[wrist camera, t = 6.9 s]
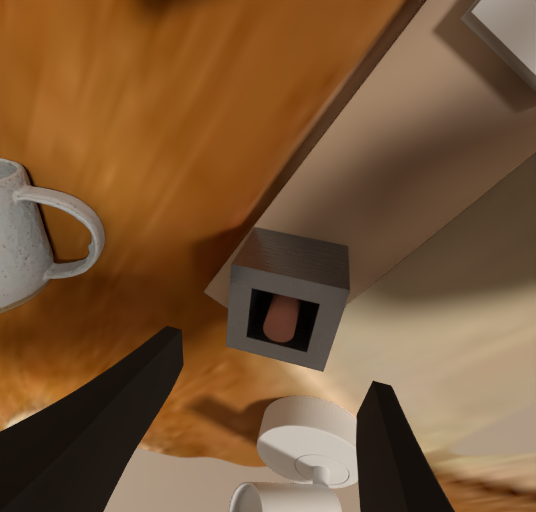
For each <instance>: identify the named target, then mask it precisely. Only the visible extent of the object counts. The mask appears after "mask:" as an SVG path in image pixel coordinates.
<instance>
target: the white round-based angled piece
mask: <svg viewBox="0 0 536 512" xmlns="http://www.w3.org/2000/svg"><path fill="white" fill-rule="evenodd" d="M356 423H357V419H356V418H355V417H354V416H353V415H352V414H351V413H350V412H348V411H347V410H346V409H344V408H342V407H341V406H339V405H337V404H335V403H333V402H330V401H327V400H324V399H321V398H317V397H311V396H289V397H284V398H281V399H278V400H276V401H274V402H272V403H271V404H270V405H269V406H268V407H267V408H266V410H265V412H264V416H263V420H262V424H261V428H260V432H259V436H258V440H257V451H258V454H259V456H260V458H261V459H262V461H263V462H264V463H265V464H266V465H267V466H268V467H269V468H270V469H272V470H273V471H274V472H276V473H277V474H279V475H281V476H283V477H284V478H286V479H289V480H291V481H293V482H296V483H263V482H244V483H242V484H240V485H239V486H238V487H237V488H236V490H235V491H234V493H233V496H232V498H231V501H230V506H229V512H342V511H341V506H340V502H339V500H338V498H337V496H336V495H335V493H334V492H333V491H332V490H331V489H330V488H341V487H345V486H349V485H351V484H354V483H355V482H357V481H358V470H357V456H356Z"/></svg>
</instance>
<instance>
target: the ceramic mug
mask: <svg viewBox="0 0 536 512" xmlns="http://www.w3.org/2000/svg"><path fill="white" fill-rule="evenodd" d="M37 203H42V204H46V205H50V206H53V207H56V208H59V209H62V210H64V211H66V212H68V213H69V214H71V215H73V216H74V217H75V218H76V219H77V220H79V221H81V222H82V223H83V224H84V225H85V226H86V227H87V228H88V229H89V230H90V231H91V235H92V241H91V243H90V244H89V246H88V248H89V254H88V257H87V258H85V259H83V260H78V261H76V262H70V263H60V264H56V263H54V259H53V253H52V250H51V247H50V244H49V241H48V238H47V235H46V233H45V230H44V226H43V222H42V219H41V215H40V212H39V209H38V206H37ZM104 245H105V234H104V229H103V226H102V223H101V220H100V219H99V217H98V216H97V214H96V213H95V212H94V211H93V210H92V209H91V208H90V207H89V206H88V205H86V204H85V203H84V202H82V201H81V200H79V199H77V198H75V197H74V196H72V195H69V194H66V193H63V192H59V191H55V190H51V189H46V188H40V187H33V186H31V184H30V181H29V178H28V175H27V173H26V170H25V169H24V167H23V166H22V165H21V164H19V163H17V162H14V161H10V160H6V159H1V158H0V313H3V312H6V311H9V310H11V309H13V308H16V307H18V306H20V305H22V304H24V303H26V302H27V301H29V300H31V299H32V298H34V297H35V296H36V295H37V294H39V293H40V292H41V291H42V290H43V289H44V288H45V287H46V286H47V285H48V284H49V282H50V280H51V279H58V278H67V277H73V276H76V275H78V274H81V273H83V272H85V271H87V270H88V269H89V268H90V267H91V266H92V265H94V264H95V262H96V261H97V259H98V257H99V256H100V254H101V252H102V250H103V247H104Z"/></svg>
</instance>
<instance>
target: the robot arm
mask: <svg viewBox="0 0 536 512" xmlns="http://www.w3.org/2000/svg"><path fill="white" fill-rule="evenodd" d="M182 367H183V346H182V330H180V329H177V328H173V327H169V326H166V327H165V328H163V329H162V330H161V331H159V332H158V333H157V334H155V335H154V336H153V337H151V338H150V339H149V340H148V341H146V342H145V343H144V344H142V345H141V346H140V347H138V348H137V349H136V350H134V351H133V352H132V353H130V354H129V355H127V356H126V357H125V358H123V359H122V360H121V361H119V362H118V363H116V364H115V365H114V366H112V367H111V368H109V369H108V370H106V371H105V372H103V373H102V374H100V375H99V376H97V377H96V378H94V379H93V380H91V381H90V382H88V383H87V384H85V385H84V386H82V387H80V388H79V389H77V390H76V391H74V392H72V393H71V394H69V395H67V396H66V397H64V398H62V399H61V400H59V401H57V402H55V403H54V404H52V405H50V406H48V407H47V408H45V409H43V410H41V411H39V412H37V413H35V414H34V415H32V416H30V417H28V418H26V419H24V420H22V421H20V422H19V423H17V424H15V425H13V426H11V427H9V428H7V429H5V430H3V431H0V512H103V511H104V509H105V507H106V505H107V503H108V501H109V499H110V497H111V495H112V493H113V491H114V489H115V487H116V485H117V483H118V481H119V479H120V477H121V475H122V473H123V471H124V469H125V467H126V465H127V463H128V462H129V460H130V458H131V456H132V455H133V453H134V451H135V449H136V448H137V446H138V444H139V443H140V441H141V440H142V438H143V436H144V435H145V433H146V432H147V430H148V428H149V427H150V425H151V423H152V422H153V420H154V419H155V417H156V415H157V414H158V412H159V411H160V409H161V407H162V406H163V404H164V402H165V401H166V399H167V397H168V396H169V394H170V392H171V391H172V389H173V387H174V384H175V382H176V380H177V378H178V376H179V374H180V372H181V370H182ZM356 456H357V470H358V483H359V497H360V510H361V512H455V511H454V509H453V508H452V506H451V504H450V502H449V501H448V499H447V497H446V495H445V493H444V492H443V490H442V488H441V486H440V484H439V483H438V481H437V479H436V477H435V475H434V473H433V472H432V470H431V468H430V466H429V464H428V462H427V460H426V458H425V456H424V454H423V452H422V450H421V448H420V446H419V444H418V442H417V440H416V438H415V436H414V434H413V432H412V430H411V428H410V426H409V423H408V421H407V419H406V417H405V415H404V413H403V410H402V408H401V406H400V404H399V401H398V399H397V397H396V395H395V392H394V390H393V388H392V386H391V385H387V384H383V383H379V382H376V381H373V382H372V384H371V386H370V388H369V390H368V392H367V394H366V396H365V399H364V401H363V403H362V405H361V407H360V409H359V411H358V413H357V423H356Z"/></svg>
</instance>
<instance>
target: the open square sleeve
mask: <svg viewBox="0 0 536 512" xmlns="http://www.w3.org/2000/svg"><path fill="white" fill-rule="evenodd" d="M274 293H275V294H280V295H284V296H288V297H292V298H297V299H301V302H300V307H299V312H298V317H297V322H296V327H295V333H294V336H293V338H292V339H291V340H289V341H287V342H276V341H273V340H271V339H270V338H268V337H267V336H266V335H265V333H264V330H263V326H264V323H265V320H266V317H267V314H268V311H269V308H270V305H271V302H272V299H273V296H274ZM349 293H350V275H349V254H348V246H346V245H341V244H336V243H332V242H327V241H322V240H317V239H312V238H307V237H302V236H297V235H292V234H288V233H283V232H278V231H273V230H268V229H263V228H258V227H255V228H254V229H253V231H252V233H251V234H250V236H249V237H248V239H247V240H246V242H245V243H244V245H243V246H242V248H241V249H240V251H239V253H238V254H237V256H236V257H235V259H234V260H233V262H232V263H231V274H230V290H229V306H228V321H227V337H226V346H227V347H231V348H235V349H238V350H242V351H246V352H250V353H254V354H257V355H261V356H265V357H269V358H273V359H277V360H280V361H284V362H288V363H292V364H296V365H299V366H303V367H307V368H311V369H315V370H318V371H322V372H323V371H324V368H325V365H326V362H327V359H328V356H329V353H330V350H331V347H332V344H333V341H334V338H335V335H336V332H337V329H338V326H339V323H340V320H341V317H342V314H343V311H344V308H345V305H346V302H347V299H348V296H349Z"/></svg>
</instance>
